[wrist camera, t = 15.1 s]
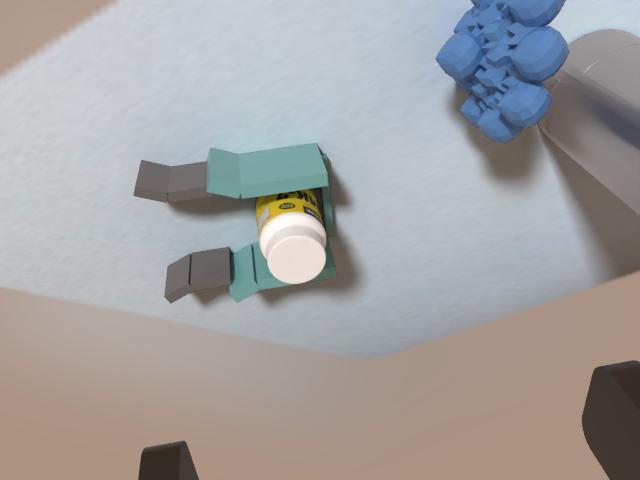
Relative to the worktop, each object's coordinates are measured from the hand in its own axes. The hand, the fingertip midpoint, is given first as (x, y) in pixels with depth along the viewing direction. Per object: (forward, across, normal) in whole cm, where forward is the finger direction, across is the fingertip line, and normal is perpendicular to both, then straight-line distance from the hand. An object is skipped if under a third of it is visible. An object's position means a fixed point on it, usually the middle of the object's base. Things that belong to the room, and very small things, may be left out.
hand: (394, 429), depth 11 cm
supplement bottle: (+33, 0, +14) cm, 36 cm away
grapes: (+33, -13, +2) cm, 36 cm away
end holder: (+33, 0, +14) cm, 36 cm away
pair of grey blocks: (+33, +8, +13) cm, 37 cm away
